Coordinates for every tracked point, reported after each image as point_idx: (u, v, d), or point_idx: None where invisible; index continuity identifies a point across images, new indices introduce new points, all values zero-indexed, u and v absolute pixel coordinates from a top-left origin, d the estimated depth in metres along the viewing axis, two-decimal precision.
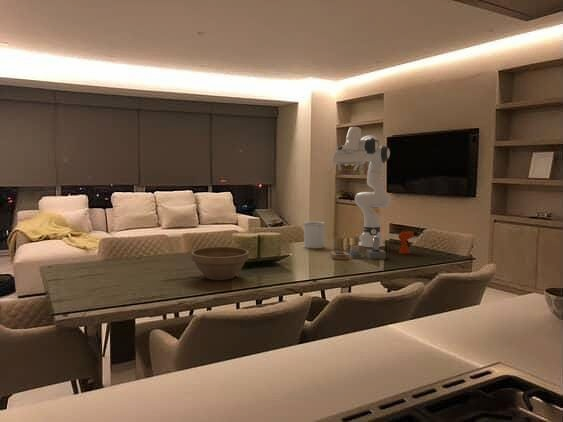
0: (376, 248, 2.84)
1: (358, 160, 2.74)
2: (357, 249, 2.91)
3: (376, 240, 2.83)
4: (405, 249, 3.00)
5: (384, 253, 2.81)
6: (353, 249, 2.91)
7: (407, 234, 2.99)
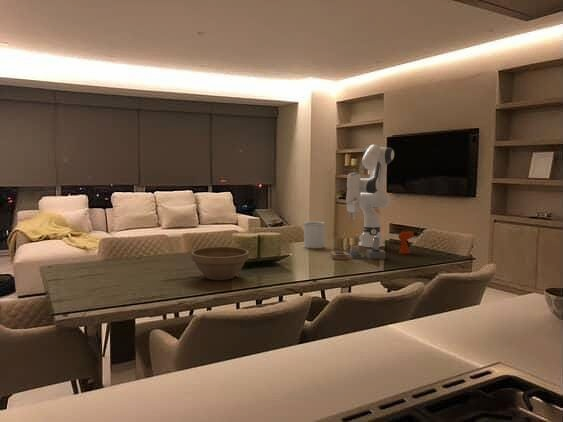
0: (376, 248, 2.84)
1: (353, 211, 2.89)
2: (357, 249, 2.91)
3: (376, 240, 2.83)
4: (405, 249, 3.00)
5: (384, 253, 2.81)
6: (353, 249, 2.91)
7: (407, 234, 2.99)
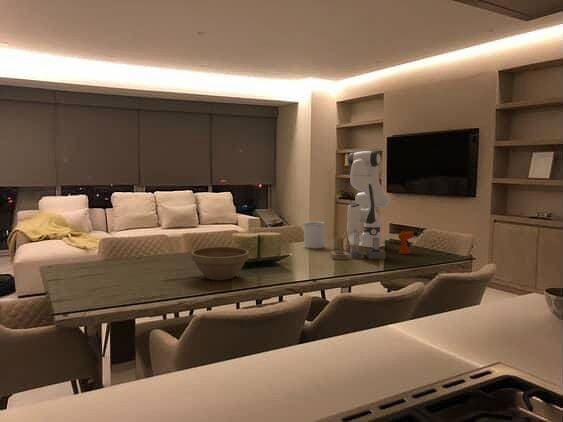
0: (376, 248, 2.84)
1: (352, 243, 2.89)
2: (357, 249, 2.90)
3: (376, 240, 2.83)
4: (405, 249, 3.00)
5: (384, 253, 2.81)
6: (353, 249, 2.90)
7: (407, 234, 2.99)
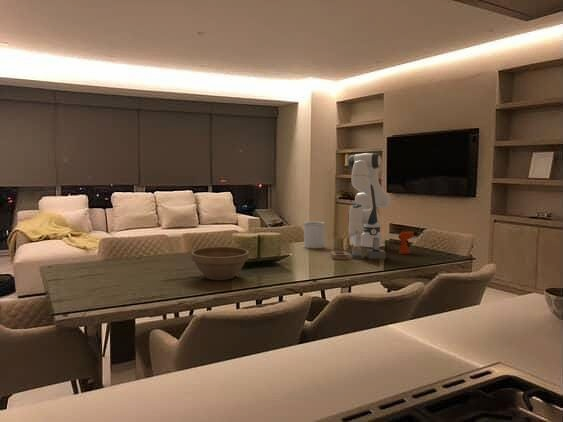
0: (376, 248, 2.84)
1: (354, 245, 2.83)
2: (359, 251, 2.84)
3: (376, 240, 2.83)
4: (405, 249, 3.00)
5: (384, 253, 2.81)
6: (355, 251, 2.84)
7: (407, 234, 2.99)
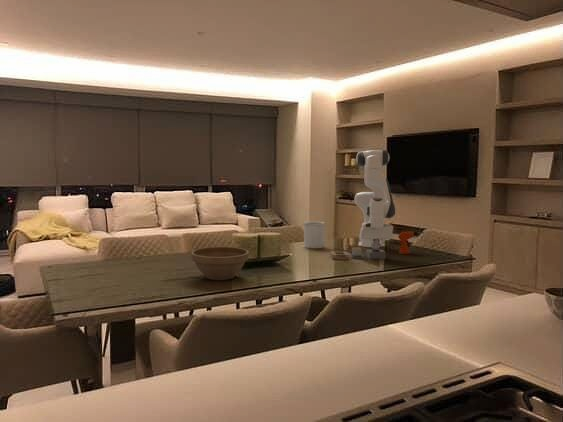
0: (376, 248, 2.84)
1: (387, 237, 2.84)
2: (359, 251, 2.84)
3: (376, 240, 2.83)
4: (405, 249, 3.00)
5: (384, 253, 2.81)
6: (355, 251, 2.84)
7: (407, 234, 2.99)
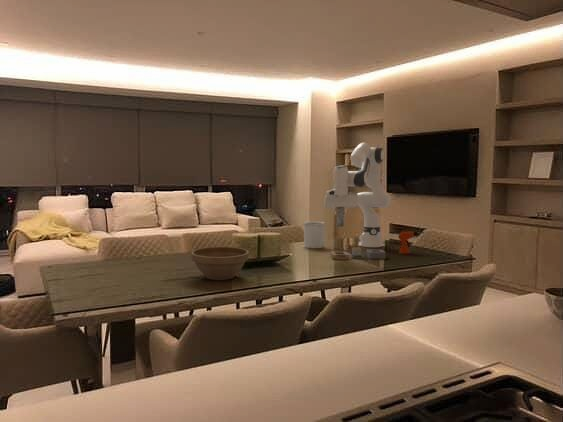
0: (340, 216, 2.80)
1: (351, 205, 2.79)
2: (359, 251, 2.84)
3: (340, 208, 2.79)
4: (405, 249, 3.00)
5: (384, 253, 2.81)
6: (355, 251, 2.84)
7: (407, 234, 2.99)
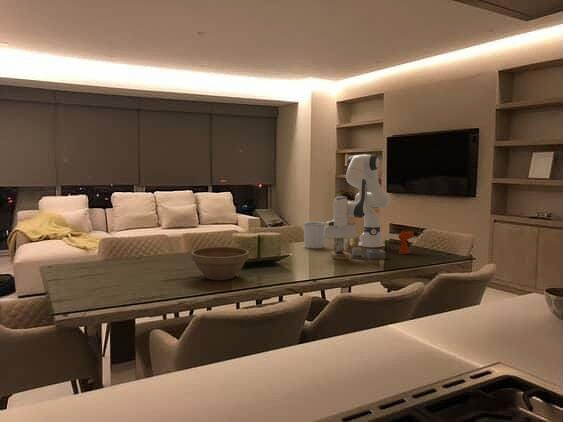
0: (340, 248, 2.81)
1: (351, 236, 2.81)
2: (359, 251, 2.84)
3: (340, 240, 2.81)
4: (405, 249, 3.00)
5: (384, 253, 2.81)
6: (355, 251, 2.84)
7: (407, 234, 2.99)
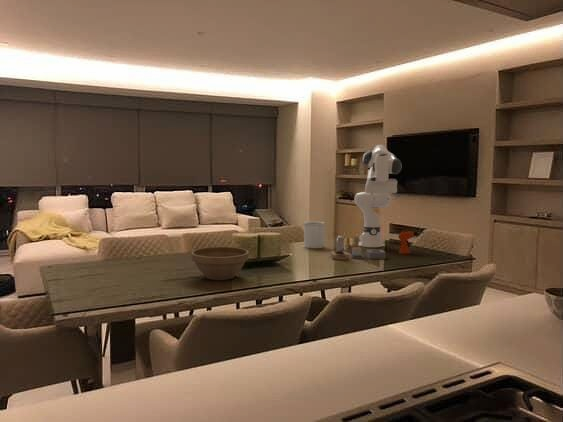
0: (340, 249, 2.81)
1: (392, 191, 2.92)
2: (359, 251, 2.84)
3: (339, 240, 2.81)
4: (405, 249, 3.00)
5: (384, 253, 2.81)
6: (355, 251, 2.84)
7: (407, 234, 2.99)
